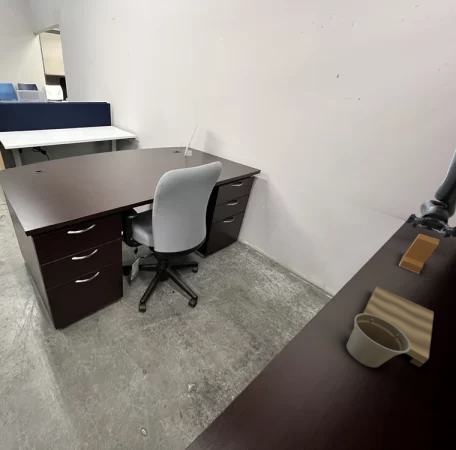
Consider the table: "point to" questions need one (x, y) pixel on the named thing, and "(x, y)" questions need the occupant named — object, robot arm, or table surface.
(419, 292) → the table surface
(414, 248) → the orange block
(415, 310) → the wooden board
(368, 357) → the flower pot
